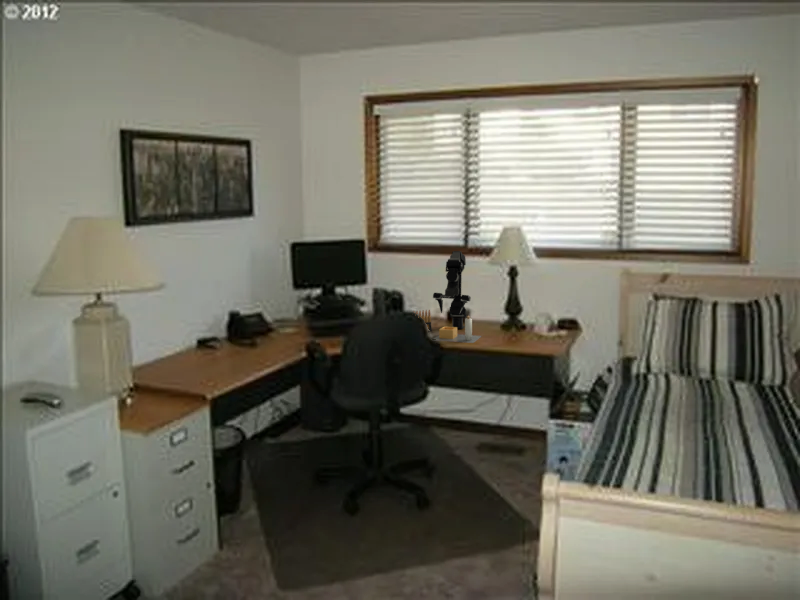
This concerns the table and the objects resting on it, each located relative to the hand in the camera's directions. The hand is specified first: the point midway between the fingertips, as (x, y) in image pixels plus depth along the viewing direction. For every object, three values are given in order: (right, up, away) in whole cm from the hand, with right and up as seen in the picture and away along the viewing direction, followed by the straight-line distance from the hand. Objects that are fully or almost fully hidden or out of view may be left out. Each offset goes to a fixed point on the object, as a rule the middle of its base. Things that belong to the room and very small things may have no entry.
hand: (450, 313), depth 360 cm
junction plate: (+4, -13, +1) cm, 14 cm away
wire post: (+9, -13, -5) cm, 17 cm away
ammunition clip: (-14, -10, +22) cm, 28 cm away
